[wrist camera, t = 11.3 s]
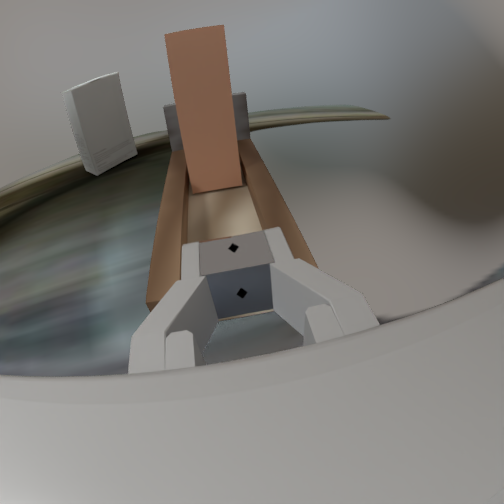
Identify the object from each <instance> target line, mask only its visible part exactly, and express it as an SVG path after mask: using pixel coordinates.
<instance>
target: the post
mask: <svg viewBox="0 0 504 504" xmlns="http://www.w3.org/2000/svg"><path fill="white" fill-rule="evenodd" d="M165 42H166V48H167V55H168V62H169V68H170V74H171V81H172V87H173V93H174V99H175V104H176V110H177V116H178V121H179V127H180V132H181V137H182V142H183V148H184V153H185V158H186V163H187V168H188V173H189V178H190V182H191V187H192V192H193V194H195V193H200V192H206V191H212V190H217V189H223V188H229V187H235V186H242V178H241V169H240V160H239V152H238V143H237V135H236V126H235V118H234V109H233V100H232V92H231V83H230V74H229V66H228V58H227V48H226V40H225V31H224V25H217V26H210V27H202V28H196V29H190V30H184V31H179V32H173V33H169V34H165Z"/></svg>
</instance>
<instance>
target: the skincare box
mask: <svg viewBox="0 0 504 504" xmlns="http://www.w3.org/2000/svg"><path fill="white" fill-rule="evenodd" d="M62 96H63V100H64V104H65V107H66V111H67V115H68V118H69V121H70V124H71V128H72V131H73V134H74V137H75V141H76V143H77V147H78V150H79V153H80V156H81V159H82V162H83V164H84V167H85V170H86V171H88V172H90V173H92V174H94V175H96V176H98V175H100V174H102V173H103V172H105V171H107V170H109V169H110V168H112V167H114V166H116V165H118V164H119V163H121V162H123V161H125V160H127V159H129V158H131V157H133V156H135V155H137V150H136V146H135V143H134V139H133V135H132V131H131V127H130V124H129V120H128V115H127V111H126V107H125V102H124V98H123V93H122V89H121V84H120V79H119V73H118V72H115V73H111V74H108V75H104V76H101V77H98V78H95V79H92V80H90V81H87V82H85V83H82V84H80V85H78V86H75V87H73V88H71V89H69V90H66V91H64V92H63V93H62Z"/></svg>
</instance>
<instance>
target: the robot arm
mask: <svg viewBox="0 0 504 504" xmlns="http://www.w3.org/2000/svg"><path fill="white" fill-rule="evenodd" d="M270 309H273V310H274V311H275V312H276V313H277V314H278V315H279V316H281V317H282V318H283V319H284V320H285V321H286V322H288V323H289V324H290V325H291V326H292V327H293V328H295V329H296V330H297V331H298V332H299V333H300V334H301V335H303V336H304V339H303V346H302V347H298V348H293V349H289V350H284V351H280V352H275V353H270V354H265V355H260V356H255V357H250V358H245V359H239V360H233V361H227V362H221V363H215V364H209V365H206V363H205V361H204V358H203V356H202V353H203V351H204V349H205V347H206V345H207V343H208V341H209V339H210V337H211V335H212V333H213V331H214V329H215V327H216V325H217V323H218V321H219V320H218V319H222V318H227V317H232V316H237V315H242V314H247V313H253V312H259V311H264V310H270ZM245 312H246V313H245ZM0 504H504V278H502V279H500V280H498V281H496V282H493V283H491V284H489V285H487V286H484V287H482V288H480V289H477V290H475V291H473V292H470V293H468V294H466V295H463V296H461V297H458V298H456V299H453V300H451V301H448V302H445V303H443V304H440V305H438V306H435V307H432V308H429V309H427V310H424V311H421V312H418V313H416V314H413V315H410V316H407V317H404V318H401V319H398V320H395V321H392V322H389V323H385V324H382V325H380V324H379V322H378V320H377V318H376V317H375V315H374V313H373V311H372V309H371V308H370V306H369V304H368V302H367V300H366V299H365V297H364V295H363V294H362V293H361V292H359V291H357V290H356V289H353V288H352V287H350V286H348V285H347V284H345V283H343V282H341V281H340V280H338V279H336V278H334V277H332V276H330V275H329V274H327V273H325V272H323V271H322V270H320V269H318V268H316V267H314V266H312V265H311V264H309V263H307V262H305V261H303V260H301V259H300V258H298V259H294V257H293V255H292V252H291V250H290V248H289V245H288V243H287V241H286V239H285V237H284V234H283V232H282V230H281V228H280V227H275V228H270V229H265V230H262V231H257V232H252V233H246V234H241V235H236V236H228V237H222V238H216V239H210V240H204V241H199V242H192V243H187V244H183V246H182V261H181V280H178V281H176V282H175V283H174V284H173V286H172V287H171V288H170V289H169V291H168V292H167V293H166V294H165V295H164V297H163V298H162V299H161V300H160V302H159V303H158V304H157V305H156V307H155V308H154V309H153V310H152V312H151V313H150V314H149V315H148V317H147V318H146V319H145V320H144V322H143V323H142V324H141V325H140V327H139V328H138V329H137V330H136V332H135V333H134V334H133V335H132V339H131V348H130V358H129V370H128V374H117V375H100V376H71V377H39V376H10V375H0Z"/></svg>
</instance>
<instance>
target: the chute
mask: <svg viewBox="0 0 504 504" xmlns="http://www.w3.org/2000/svg"><path fill="white" fill-rule="evenodd" d="M232 100H233V109H234V118H235V126H236V135H237V143H238V152H239V160H240V169H241V178H242V186H235V187H229V188H223V189H217V190H212V191H206V192H200V193H195V194H193V192H192V187H191V182H190V178H189V173H188V168H187V163H186V158H185V153H184V148H183V142H182V137H181V132H180V127H179V121H178V116H177V110H176V104H175V103H173V104H169V105H165V106H164V114H165V119H166V124H167V129H168V134H169V139H170V144H171V149H172V155H171V159H170V163H169V167H168V172H167V176H166V181H165V186H164V190H163V195H162V200H161V205H160V211H159V216H158V221H157V227H156V233H155V239H154V245H153V251H152V258H151V265H150V272H149V279H148V287H147V295H146V304H147V306H148V308H149V310H150V312H152V310H153V309H154V308H155V307H156V305H157V304H158V303H159V302H160V300H161V299H162V298H163V297H164V295H165V294H166V293H167V292H168V291H169V289H170V288H171V287H172V286H173V284H174V283H175V282H176V281H178V280H181V261H182V246H183V244H187V243H192V242H199V241H204V240H210V239H216V238H222V237H228V236H236V235H241V234H246V233H252V232H257V231H262V230H265V229H270V228H275V227H280V228H281V230H282V232H283V234H284V237H285V239H286V241H287V243H288V245H289V248H290V250H291V252H292V255H293V257H294V259H298V258H300V259H301V260H303V261H305V262H307V263H309V264H311V265H312V266H314V267H316V268H318V266H317V264H316V263H315V260H314V258H313V256H312V254H311V252H310V250H309V248H308V246H307V244H306V242H305V240H304V238H303V236H302V234H301V232H300V230H299V228H298V226H297V224H296V222H295V220H294V218H293V216H292V215H291V213H290V211H289V209H288V207H287V205H286V203H285V201H284V199H283V197H282V195H281V194H280V192H279V190H278V188H277V186H276V184H275V182H274V180H273V179H272V177H271V175H270V173H269V172H268V169H267V168H266V166H265V164H264V162H263V160H262V159H261V157H260V155H259V153H258V151H257V150H256V148H255V146H254V144H253V142H252V141H251V139H250V130H249V120H248V110H247V101H246V93H244V92H241V93H233V94H232ZM318 269H319V268H318ZM272 311H274V310H273V309H270V310H264V311H259V312H253V313H247V314H242V315H237V316H232V317H227V318H222V319H218V320H219V321H222V320H228V319H234V318H240V317H245V316H251V315H256V314H262V313H267V312H272ZM245 313H246V312H245Z"/></svg>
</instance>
